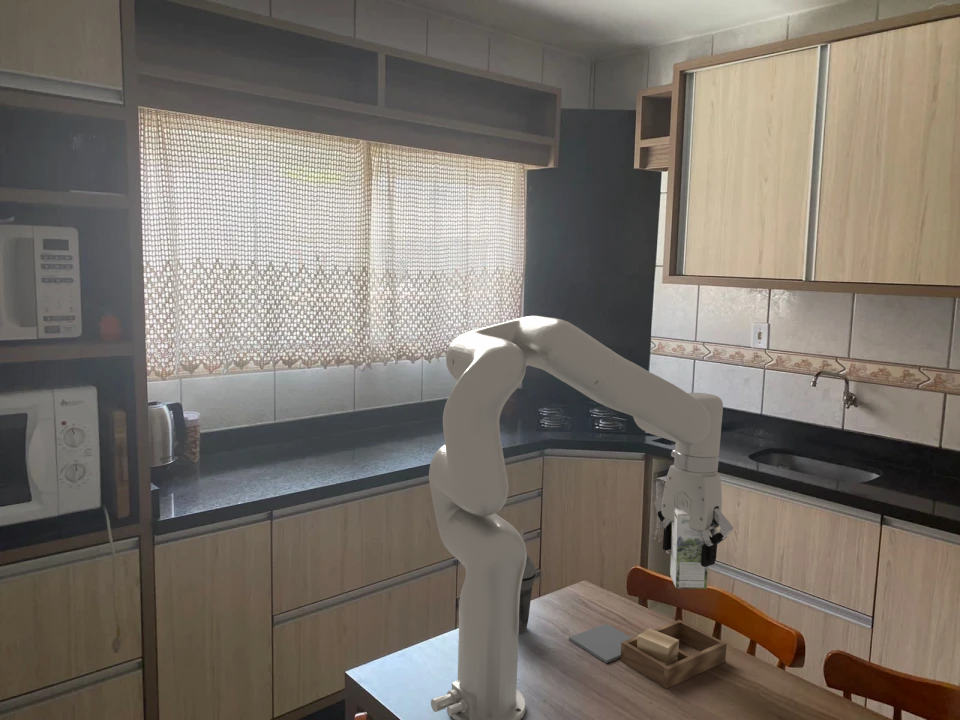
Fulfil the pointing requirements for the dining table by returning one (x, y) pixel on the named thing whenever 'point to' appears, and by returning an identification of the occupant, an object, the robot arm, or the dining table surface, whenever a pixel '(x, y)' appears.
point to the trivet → (601, 642)
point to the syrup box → (686, 554)
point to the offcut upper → (658, 645)
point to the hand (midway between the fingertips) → (688, 556)
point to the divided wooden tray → (686, 665)
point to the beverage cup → (526, 593)
